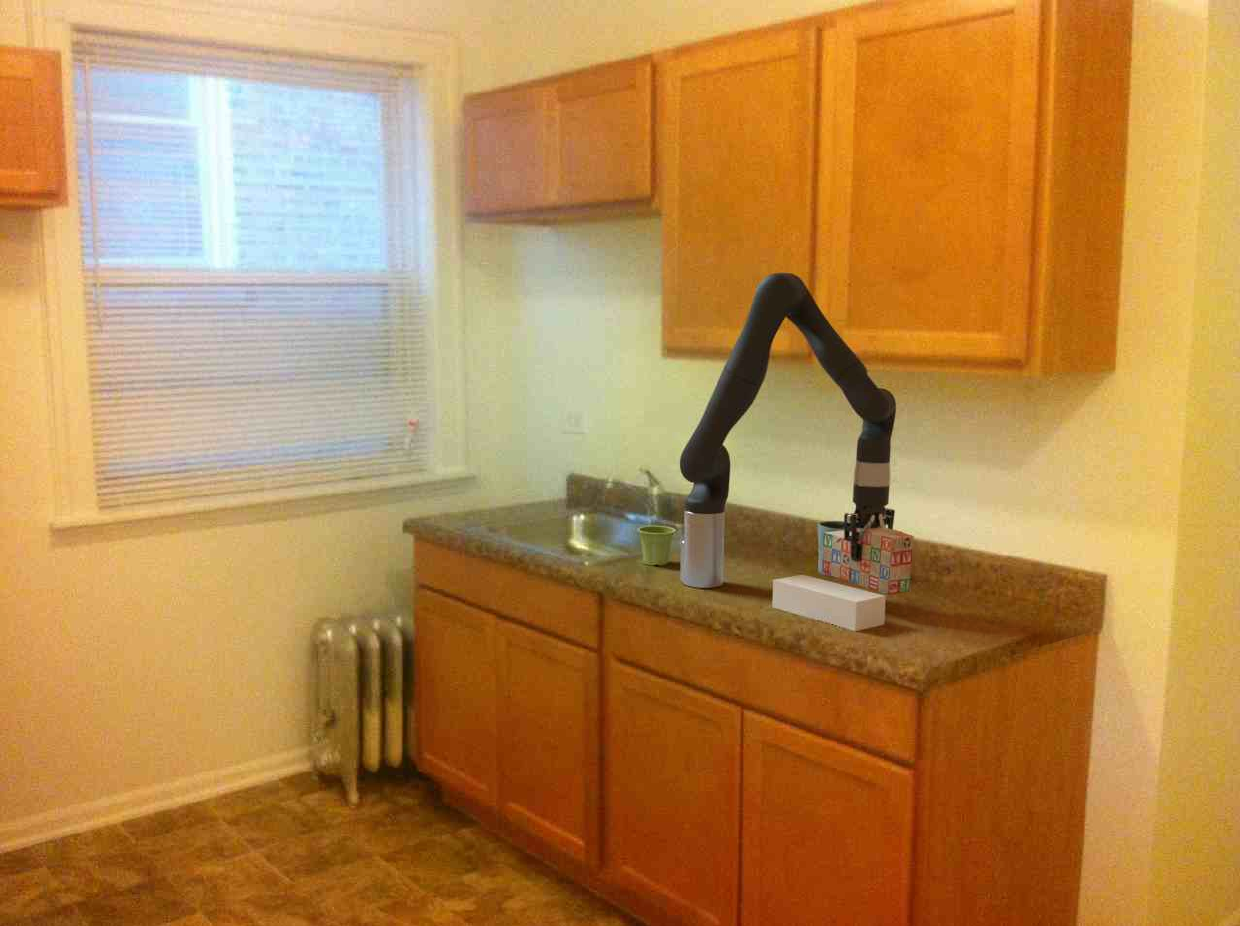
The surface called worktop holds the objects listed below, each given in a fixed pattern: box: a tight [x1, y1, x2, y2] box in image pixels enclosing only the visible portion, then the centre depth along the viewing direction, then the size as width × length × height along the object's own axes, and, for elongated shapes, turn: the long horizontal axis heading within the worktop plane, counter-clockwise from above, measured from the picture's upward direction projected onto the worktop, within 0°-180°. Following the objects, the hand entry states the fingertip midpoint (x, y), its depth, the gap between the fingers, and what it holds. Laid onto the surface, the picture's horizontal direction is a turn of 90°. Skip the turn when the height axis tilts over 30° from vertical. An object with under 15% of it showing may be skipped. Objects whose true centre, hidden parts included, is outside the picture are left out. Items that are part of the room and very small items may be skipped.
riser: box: [772, 574, 886, 632], centre depth 245 cm, size 23×9×6 cm, turn 38°
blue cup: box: [817, 520, 851, 577], centre depth 285 cm, size 10×10×12 cm
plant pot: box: [637, 525, 676, 567], centre depth 292 cm, size 9×9×9 cm
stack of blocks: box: [822, 527, 914, 596], centre depth 252 cm, size 21×6×12 cm, turn 31°
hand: (867, 558), depth 252 cm, fingers closed on stack of blocks, 6 cm apart
